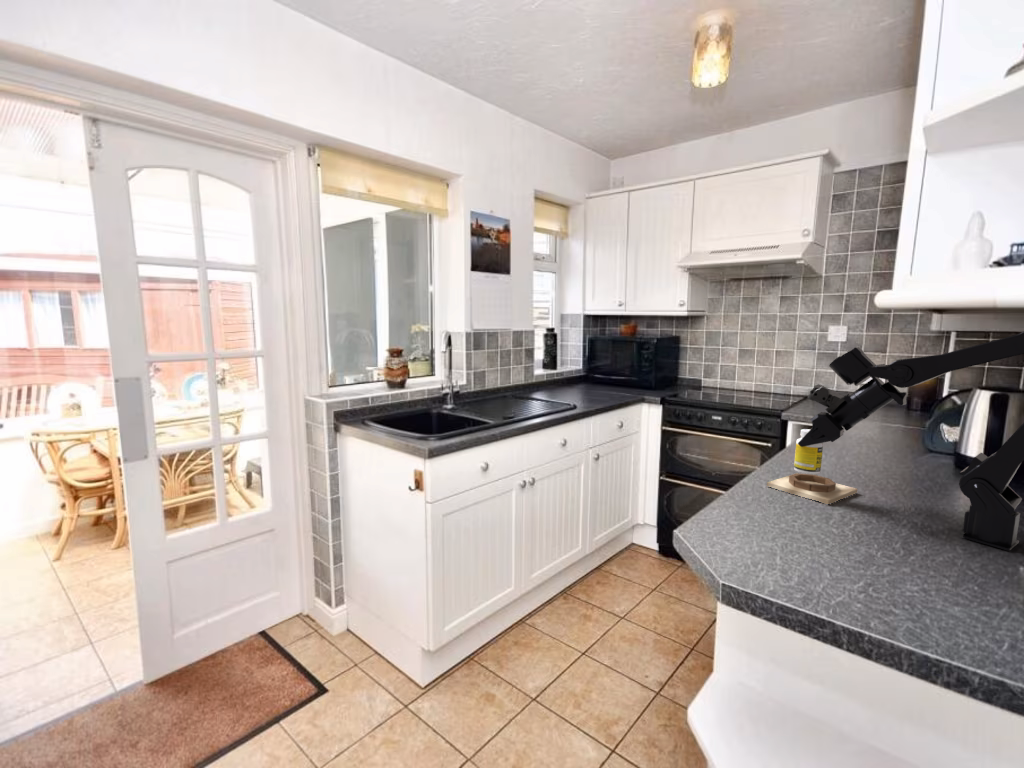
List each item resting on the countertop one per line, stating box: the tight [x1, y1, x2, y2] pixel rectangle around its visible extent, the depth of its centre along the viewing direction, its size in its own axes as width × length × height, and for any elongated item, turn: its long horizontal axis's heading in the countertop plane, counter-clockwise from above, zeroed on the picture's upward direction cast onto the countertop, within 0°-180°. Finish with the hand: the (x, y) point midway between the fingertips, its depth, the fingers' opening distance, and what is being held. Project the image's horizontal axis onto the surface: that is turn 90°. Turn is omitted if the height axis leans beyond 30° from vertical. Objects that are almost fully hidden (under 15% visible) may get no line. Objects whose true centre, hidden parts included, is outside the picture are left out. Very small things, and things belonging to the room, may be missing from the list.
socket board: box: [766, 472, 858, 505], centre depth 118 cm, size 14×14×3 cm
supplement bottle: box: [793, 428, 824, 475], centre depth 114 cm, size 5×5×10 cm
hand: (802, 442), depth 115 cm, fingers closed on supplement bottle, 5 cm apart
